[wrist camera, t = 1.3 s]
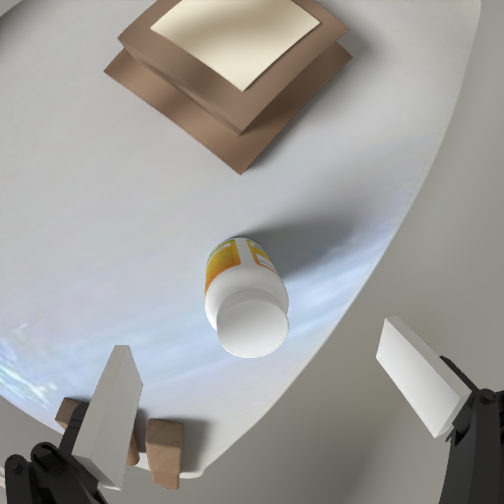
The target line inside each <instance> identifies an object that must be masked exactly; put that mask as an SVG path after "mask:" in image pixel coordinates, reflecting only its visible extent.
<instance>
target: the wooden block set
mask: <svg viewBox="0 0 504 504" xmlns="http://www.w3.org/2000/svg"><path fill="white" fill-rule="evenodd" d="M79 404H80V402H77V401H74V400H71V399H68V398H65V397H64V399H63V402H62V404H61V406H60V408H59V411H58V413H57V415H56V418H55V420H56V421H57V422H58V423H59V424H60V425H61V426H62V427H63V428H64V429H65V430H66V428H67V427H68V426H67V425H68V423H69V420H71V419H70V418H71V415H72V413H73V411H74V409H75V408H76V407H77V406H78V405H79ZM182 439H183V424H182V423H177V422H170V421H163V420H156V419H149V420H148V424H147V431H146V438H145V445H146V452H147V457H148V463H149V468H150V470H151V473H152V478H153V481H154V483H155V484H158V485H160V486H162V487H165V488H167V489H176V490H177V489H178V488H179V474H180V473H181V463H182ZM139 460H140V457H139V453H138V448H137V443H136V438H135V433H134V427H133V430H132V435H131V440H130V444H129V449H128V454H127V460H126V465H129V466H133V465H136V464H137V463H138V462H139Z"/></svg>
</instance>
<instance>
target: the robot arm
mask: <svg viewBox="0 0 504 504" xmlns="http://www.w3.org/2000/svg"><path fill="white" fill-rule="evenodd" d="M376 358H377V359H378V361H379V362H380V363H381V365H382V366H383V368H384V369H385V370H386V371H387V373H388V374H389V376H390V377H391V378H392V379H393V381H394V382H395V384H396V385H397V386H398V388H399V389H400V390H401V392H402V393H403V395H404V396H405V397H406V399H407V400H408V401H409V403H410V404H411V405H412V407H413V408H414V410H415V411H416V413H417V414H418V415H419V417H420V418H421V419H422V421H423V422H424V424H425V425H426V427H427V428H428V429H429V431H430V432H431V434H432V435H433V437H434V438H436V437H438V436H440V435H441V434H443V433H445V432H446V431H447V430H448V428H449V427H450V426H451V424H453V426H454V429H453V430H452V431H451V433H450V434H449V436H448V437H447V438H446V442H447V441H448V440H449V439H450V438H451V441H450V442H451V446H450V453H449V459H448V465H447V470H446V476H445V480H444V485H443V489H442V493H441V497H440V501H439V504H504V390H503V391H500V392H495V393H494V392H493V391H492V390H490V389H481V390H479V389H478V388H477V387H476V386H475V385H474V384H473V383H472V382H471V381H470V380H469V379H468V377H467V376H466V375H465V374H464V373H463V372H461V370H460V369H459V368H458V367H456V365H455V364H454V363H453V362H452V361H451V360H449V359H447V358H446V357H444V356H440V357H438V356H437V355H436V354H435V353H434V352H433V351H432V350H431V349H430V348H429V347H428V346H427V345H426V344H425V343H424V342H423V341H422V340H421V339H420V338H419V337H418V336H417V335H416V334H415V333H414V332H413V331H412V330H411V329H410V328H409V327H408V326H407V325H406V324H405V323H404V322H403V321H402V320H401V319H400V318H398V317H397V316H393V317H389V318H386V319H385V322H384V327H383V331H382V336H381V340H380V344H379V348H378V352H377V355H376ZM142 388H143V383H142V381H141V378H140V376H139V373H138V370H137V368H136V365H135V362H134V359H133V356H132V353H131V350H130V347H129V345H115V347H114V349H113V351H112V353H111V355H110V357H109V360H108V362H107V364H106V366H105V369H104V371H103V373H102V375H101V378H100V380H99V382H98V385H97V387H96V390H95V392H94V394H93V397H92V399H91V402H90V403H85V402H81V403H80V404H79V405H78V406H77V407H76V408H75V409H74V411H73V413H72V415H71V418H70V419H71V420H69V423H68V425H67V426H68V427H67V428H66V430H65V433H64V435H63V438H62V441H61V443H60V446H59V448H58V449H57V447H56V446H55V445H53V444H51V443H49V442H41V443H39V444H37V445H36V446H35V447H34V448H33V449H32V452H31V455H30V456H31V461H32V462H28V461H27V460H26V459H25V458H24V457H22V456H21V455H17V454H14V455H11V456H10V457H9V458H7V460H6V462H5V485H6V496H7V504H108V503H107V501H106V500H105V498H104V497H103V495H102V494H101V492H100V491H99V490H98V488H97V486H98V482H99V483H100V484H102V485H103V486H104V487H106V488H111V489H116V490H121V488H122V482H123V476H124V471H125V465H126V460H127V454H128V449H129V444H130V440H131V435H132V430H133V426H134V421H135V417H136V412H137V408H138V404H139V400H140V396H141V392H142ZM451 436H452V437H451Z"/></svg>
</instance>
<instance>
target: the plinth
mask: <svg viewBox="0 0 504 504" xmlns="http://www.w3.org/2000/svg"><path fill="white" fill-rule="evenodd" d="M348 30H349V29H348V28H347V27H346V26H345V25H343V24H342V23H341V22H340V21H339V20H338V19H336V18H335V17H334V16H333V15H332V14H330V13H329V12H328V11H327V10H326V9H324V8H323V7H322V6H320V5H319V4H318V3H317V2H315V1H314V0H157V1H156V2H155V3H154V4H153V5H151V6H150V7H149V8H148V9H147V10H146V11H145V12H143V13H142V14H141V15H140V16H139V17H138V18H137V19H136V20H135V21H134V22H133V23H132V24H131V25H129V26H128V27H127V28H126V29H125V30H124V31H123V32H122V33H121V34H120V35H119V36H118V39H119V41H120V42H121V43H122V44H123V46H124V48H123V50H122V51H121V52H120V53H119V54H118V55H117V56H116V57H115V58H114V59H113V61H112V62H111V63H110V64H109V65H108V66H107V68H106V69H105V70H104V71H103V72H105V73H106V74H107V75H109V76H110V77H111V78H113V79H114V80H116V81H117V82H118V83H120V84H121V85H123V86H124V87H126V88H127V89H129V90H130V91H131V92H133V93H134V94H136V95H137V96H138V97H140V98H141V99H143V100H144V101H145V102H147V103H148V104H149V105H151V106H152V107H154V108H155V109H156V110H158V111H159V112H160V113H162V114H163V115H164V116H166V117H167V118H168V119H170V120H171V121H172V122H174V123H175V124H176V125H178V126H179V127H180V128H182V129H183V130H184V131H185V132H187V133H188V134H189V135H191V136H192V137H193V138H194V139H196V140H197V141H198V142H200V143H201V144H202V145H203V146H205V147H206V148H207V149H208V150H210V151H211V152H212V153H213V154H215V155H216V156H217V157H218V158H220V159H221V160H222V161H223V162H225V163H226V164H227V165H228V166H229V167H231V168H232V169H233V170H234V171H236V172H237V173H238V174H240V175H241V174H242V173H243V172H244V171H245V170H246V169H247V167H248V166H249V165H250V164H251V163H252V162H253V161H254V159H255V158H256V157H257V156H258V155H259V154H260V153H261V151H262V150H263V149H264V148H265V147H266V146H267V145H268V144H269V143H270V141H271V140H272V139H273V138H274V137H275V136H276V135H277V134H278V133H279V132H280V131H281V129H282V128H283V127H284V126H285V125H286V124H287V123H288V122H289V121H290V120H291V119H292V118H293V117H294V116H295V115H296V113H297V112H298V111H299V110H300V109H301V108H302V107H303V106H304V105H305V104H306V103H307V102H308V101H309V100H310V99H311V98H312V97H313V96H314V95H315V94H316V93H317V92H318V91H319V90H320V89H321V88H322V87H323V86H324V85H325V84H326V83H327V82H328V81H329V80H330V79H331V78H332V77H333V76H334V75H335V74H336V73H337V72H338V71H339V70H340V69H341V68H342V67H343V66H344V65H345V64H346V63H347V62H348V61H350V60H351V59H352V58H353V57H352V56H351V55H350V54H349V53H348V52H347V51H346V50H345V49H344V48H343V47H342V46H341V45H340V44H338V43H337V42H336V40H337V39H338V38H339V37H341V36H342V35H343V34H344V33H345V32H347V31H348Z"/></svg>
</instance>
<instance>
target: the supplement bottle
mask: <svg viewBox="0 0 504 504" xmlns="http://www.w3.org/2000/svg"><path fill="white" fill-rule="evenodd" d="M288 306H289V299H288V294H287V290H286V288H285V285H284V283H283V281H282V279H281V278H280V276H279V274H278V272H277V271H276V269H275V267H274V265H273V264H272V262H271V260H270V258H269V257H268V255H267V253H266V252H265V250H264V249H263V248H262V247H261V246H260V245H259V244H258V243H256V242H254V241H252V240H250V239H246V238H232V239H228V240H226V241H224V242H222V243H220V244H219V245H218V246H216V247H215V248H214V250H213V251H212V252H211V254H210V256H209V258H208V261H207V267H206V284H205V310H206V314H207V317H208V319H209V321H210V323H211V325H212V326H213V327H214V329H215V330H216V331H217V335H218V339H219V341H220V343H221V345H222V346H223V347H224V348H225V349H226V350H227V351H228V352H229V353H231V354H233V355H235V356H238V357H243V358H257V357H262V356H265V355H267V354H269V353H271V352H273V351H275V350H276V349H277V348H278V347H279V346H280V345H281V344H282V343H283V342H284V340H285V338H286V336H287V334H288V329H289V322H288V318H287V311H288Z"/></svg>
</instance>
